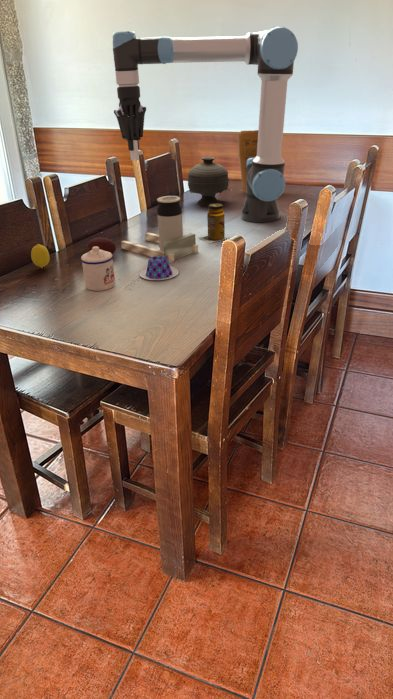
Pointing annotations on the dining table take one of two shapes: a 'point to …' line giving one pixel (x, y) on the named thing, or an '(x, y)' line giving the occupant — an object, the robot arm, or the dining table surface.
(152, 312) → the dining table surface
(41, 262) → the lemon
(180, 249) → the rail channel
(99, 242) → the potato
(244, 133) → the pancake mix bag
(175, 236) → the travel mug
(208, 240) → the condiment
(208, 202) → the pot
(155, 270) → the pudding
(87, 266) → the teacup with lid
